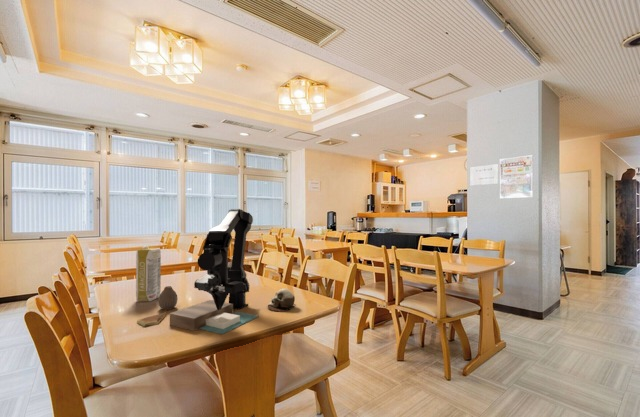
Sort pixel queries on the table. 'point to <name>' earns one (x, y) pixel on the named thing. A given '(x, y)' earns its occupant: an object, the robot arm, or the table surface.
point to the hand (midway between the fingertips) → (219, 309)
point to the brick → (197, 314)
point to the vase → (168, 298)
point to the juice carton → (148, 273)
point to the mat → (243, 319)
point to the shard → (151, 319)
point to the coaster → (222, 320)
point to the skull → (282, 301)
